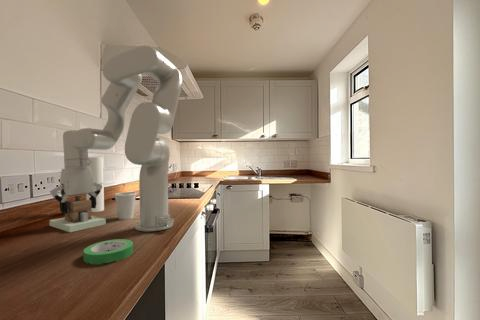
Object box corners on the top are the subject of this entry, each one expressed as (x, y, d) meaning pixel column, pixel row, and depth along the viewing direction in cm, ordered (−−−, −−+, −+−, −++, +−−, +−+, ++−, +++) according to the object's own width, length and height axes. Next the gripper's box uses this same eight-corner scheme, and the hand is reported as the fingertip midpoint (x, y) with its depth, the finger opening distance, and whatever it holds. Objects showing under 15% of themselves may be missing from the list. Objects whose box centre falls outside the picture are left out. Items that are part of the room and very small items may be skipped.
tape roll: (72, 264, 60) (71, 252, 60) (104, 247, 71) (104, 238, 71) (114, 267, 58) (114, 255, 58) (141, 249, 69) (141, 239, 69)
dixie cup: (111, 218, 105) (110, 193, 104) (131, 214, 111) (131, 191, 110) (119, 221, 99) (119, 195, 99) (140, 217, 105) (140, 193, 105)
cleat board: (105, 224, 95) (105, 210, 95) (69, 232, 85) (69, 217, 85) (84, 218, 104) (84, 206, 104) (49, 225, 94) (49, 212, 94)
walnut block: (91, 219, 94) (91, 196, 94) (73, 222, 89) (73, 198, 89) (82, 217, 98) (81, 194, 98) (64, 220, 93) (64, 197, 93)
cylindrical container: (107, 210, 121) (106, 157, 121) (91, 212, 115) (90, 157, 115) (98, 208, 125) (98, 157, 125) (83, 211, 119) (82, 157, 119)
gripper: (95, 163, 103) (97, 205, 104) (44, 165, 89) (47, 214, 89) (105, 162, 99) (107, 206, 99) (53, 165, 85) (56, 216, 85)
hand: (79, 210), depth 94 cm, fingers open, 9 cm apart
